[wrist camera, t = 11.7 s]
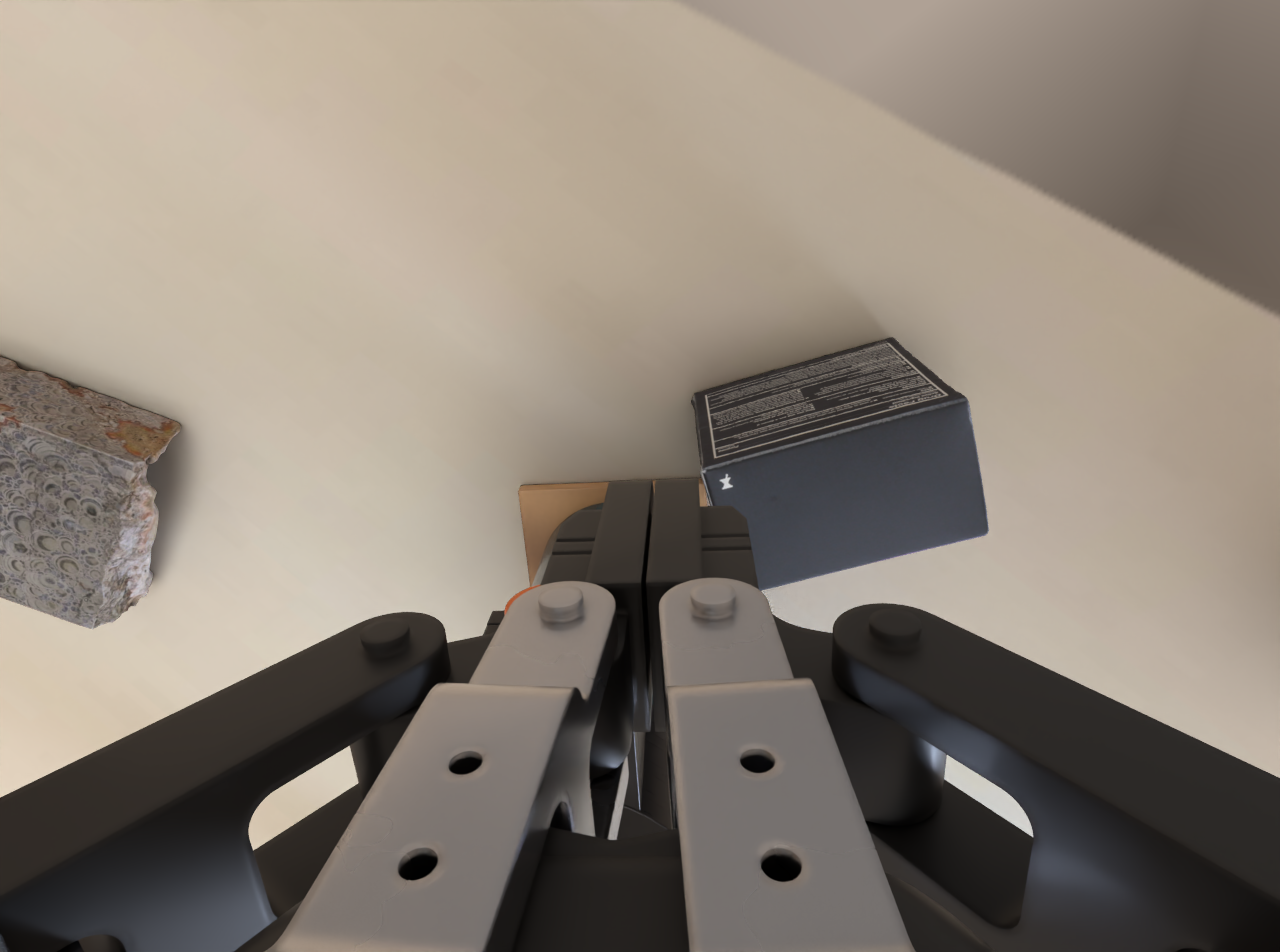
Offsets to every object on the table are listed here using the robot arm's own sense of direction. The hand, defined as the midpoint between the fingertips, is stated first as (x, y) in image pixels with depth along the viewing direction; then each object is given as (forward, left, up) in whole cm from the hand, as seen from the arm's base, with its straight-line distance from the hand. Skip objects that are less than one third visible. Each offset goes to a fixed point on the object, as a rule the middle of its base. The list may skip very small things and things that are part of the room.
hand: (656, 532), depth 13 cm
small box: (-5, +8, -27) cm, 29 cm away
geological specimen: (+35, -2, -27) cm, 45 cm away
